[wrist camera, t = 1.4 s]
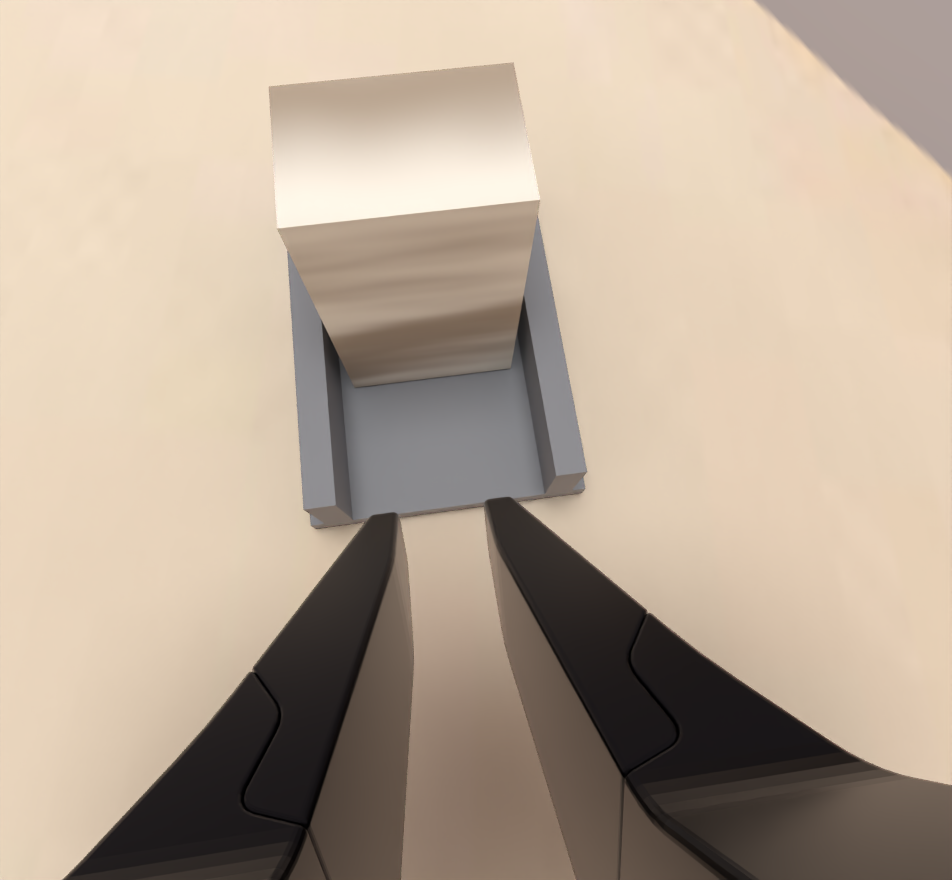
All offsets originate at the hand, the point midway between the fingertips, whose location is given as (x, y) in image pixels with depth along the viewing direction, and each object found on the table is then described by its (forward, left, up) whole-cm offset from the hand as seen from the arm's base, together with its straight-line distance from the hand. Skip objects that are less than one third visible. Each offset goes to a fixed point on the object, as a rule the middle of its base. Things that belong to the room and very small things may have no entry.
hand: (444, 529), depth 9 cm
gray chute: (+9, -2, -14) cm, 17 cm away
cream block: (+9, -2, -13) cm, 16 cm away
